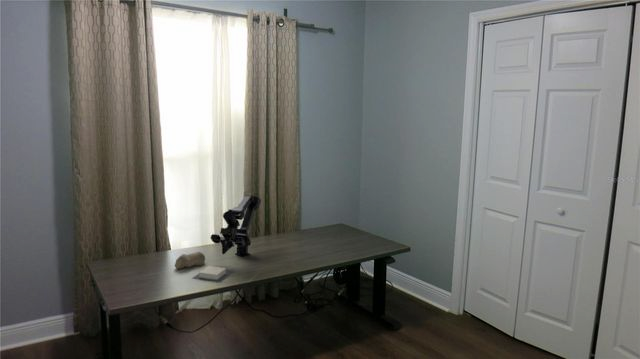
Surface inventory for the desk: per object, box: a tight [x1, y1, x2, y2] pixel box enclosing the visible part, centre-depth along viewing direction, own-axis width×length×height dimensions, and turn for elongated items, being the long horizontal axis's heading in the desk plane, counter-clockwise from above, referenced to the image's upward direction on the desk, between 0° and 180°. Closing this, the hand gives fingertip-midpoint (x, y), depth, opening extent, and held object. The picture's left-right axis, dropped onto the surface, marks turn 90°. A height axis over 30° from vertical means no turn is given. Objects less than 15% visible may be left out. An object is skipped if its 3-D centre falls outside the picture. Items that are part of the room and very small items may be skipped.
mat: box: [191, 268, 236, 283], centre depth 233 cm, size 18×16×1 cm
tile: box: [198, 265, 227, 280], centre depth 230 cm, size 3×10×10 cm
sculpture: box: [174, 251, 206, 270], centre depth 243 cm, size 9×17×10 cm
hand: (223, 254), depth 241 cm, fingers closed
